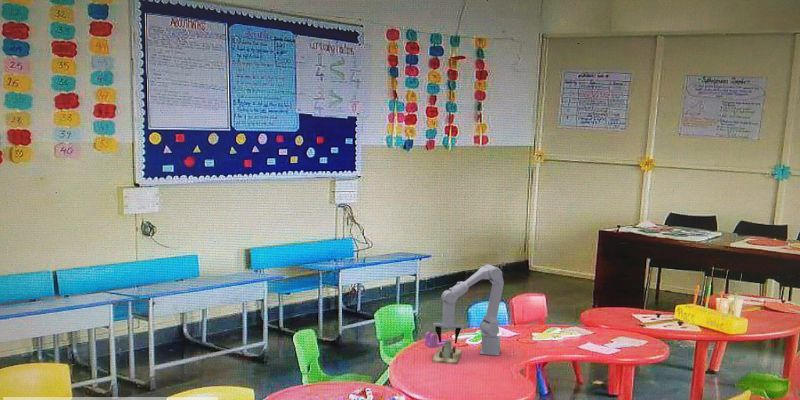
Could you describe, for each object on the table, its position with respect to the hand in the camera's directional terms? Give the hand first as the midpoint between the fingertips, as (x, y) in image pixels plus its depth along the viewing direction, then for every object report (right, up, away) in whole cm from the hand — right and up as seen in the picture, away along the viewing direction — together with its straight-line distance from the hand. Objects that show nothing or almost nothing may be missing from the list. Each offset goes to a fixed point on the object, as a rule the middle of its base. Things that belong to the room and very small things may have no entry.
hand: (447, 342), depth 358 cm
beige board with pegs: (0, -7, +1) cm, 7 cm away
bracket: (-4, -5, +20) cm, 21 cm away
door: (0, -6, 0) cm, 6 cm away
